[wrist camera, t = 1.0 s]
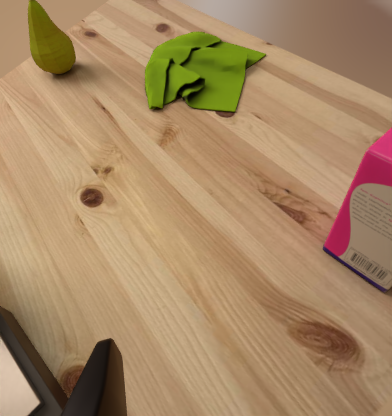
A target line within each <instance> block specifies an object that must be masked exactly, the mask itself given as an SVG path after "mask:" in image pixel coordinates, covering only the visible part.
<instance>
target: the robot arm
mask: <svg viewBox="0 0 392 416" xmlns="http://www.w3.org/2000/svg"><path fill="white" fill-rule="evenodd" d="M60 416H127V408H126V396H125V384H124V372H123V361H122V355H121V353H120V351H119V349H118V347H117V345H116V344H115V342H114V340H113V339H111V338H109V339H105V340H102V341H99V342H98V343H97V344H96V346H95V348H94V350H93V352H92V354H91V356H90V358H89V360H88V361H87V363H86V365H85V367H84V369H83V371H82V373H81V375H80V377H79V379H78V381H77V383H76V385H75V387H74V389H73V391H72V393H71V395H70V397H69V399H68V401H67V403H66V405H65V407H64V409H63V411H62V413H61V415H60Z"/></svg>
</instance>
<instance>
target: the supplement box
mask: <svg viewBox="0 0 392 416" xmlns="http://www.w3.org/2000/svg"><path fill="white" fill-rule="evenodd" d="M323 250H324V251H325V252H327V253H328V254H330V255H331V256H332V257H334V258H335V259H337V260H338V261H340V262H341V263H342V264H344V265H345V266H347V267H348V268H350V269H351V270H352V271H354V272H355V273H357V274H358V275H360V276H361V277H363V278H364V279H365V280H367V281H368V282H370V283H371V284H372V285H374V286H375V287H377V288H378V289H380V290H381V291H383V292H384V293H385V292H386V291H388V290H389V289H390V288H391V287H392V128H391V129H389V130H388V131H387V132H386V133H385V134H384V135H383V136H382V137H381V138H379V139H378V140H377V141H376V142H375V143H374V144H373V145H372V146H371V147H369V148H368V149H367V150H366V152H365V154H364V156H363V159H362V161H361V163H360V165H359V168H358V170H357V172H356V175H355V177H354V179H353V181H352V183H351V186H350V188H349V190H348V192H347V195H346V197H345V199H344V201H343V204H342V206H341V208H340V210H339V213H338V215H337V217H336V219H335V221H334V224H333V226H332V228H331V230H330V233H329V235H328V237H327V239H326V242H325V244H324V246H323Z"/></svg>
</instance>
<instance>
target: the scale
mask: <svg viewBox="0 0 392 416" xmlns="http://www.w3.org/2000/svg"><path fill="white" fill-rule="evenodd" d="M67 401H68V397H67V396H66V394H65V393H64V391H63V390H62V388H61V387H60V385H59V384H58V382H57V381H56V379H55V378H54V376H53V375H52V373H51V372H50V370H49V369H48V367H47V366H46V364H45V363H44V361H43V360H42V358H41V357H40V355H39V354H38V352H37V351H36V349H35V348H34V346H33V345H32V343H31V342H30V340H29V339H28V337H27V336H26V334H25V333H24V331H23V330H22V328H21V327H20V325H19V324H18V322H17V321H16V319H15V318H14V316H13V315H12V313H11V312H10V311H8V310H6V309H5V308H3V307H1V306H0V416H60V415H61V413H62V411H63V409H64V407H65V405H66V403H67Z"/></svg>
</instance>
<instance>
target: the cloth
mask: <svg viewBox="0 0 392 416" xmlns="http://www.w3.org/2000/svg"><path fill="white" fill-rule="evenodd" d="M153 52H154V53H153V54H152V55H151V58H150V60H149V62H148V64H147V66H146V70H145V90H146V95H147V97H148V104H149V109H154V108H157V107H159V108H161V109H163V105H165V104H167V103H170V102H172V101H173V100H174V99H176V95H177V92H179V94H180V95H181V96H182V98H183V99H185V101H186V103H187V104H188V105H189V106H190V107H193V108H197V109H206V110H216V111H228V112H235V110H236V107H237V104H238V100H239V97H240V94H241V90H242V86H243V83H244V78H245V69H247V68H248V67H249V66H251V65H253V64H254V63H256V62H257V61H259V60H260V59H261V58H263V57H264V56H265V55H266V54H264V53H261V52H258V51H255V50H251V49H248V48H245V47H241V46H238V45H234V44H230V43H226V42H223V41H221V39H219V38H218V37H216V36H214V35H210V34H205V32H191V33H188V34H185V35H181V36H178V37H176V38H175V39H171V40H169V41H167V42H165V43H163V44H161V45H159V46H157V47H156V49H155V50H154V51H153Z"/></svg>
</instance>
